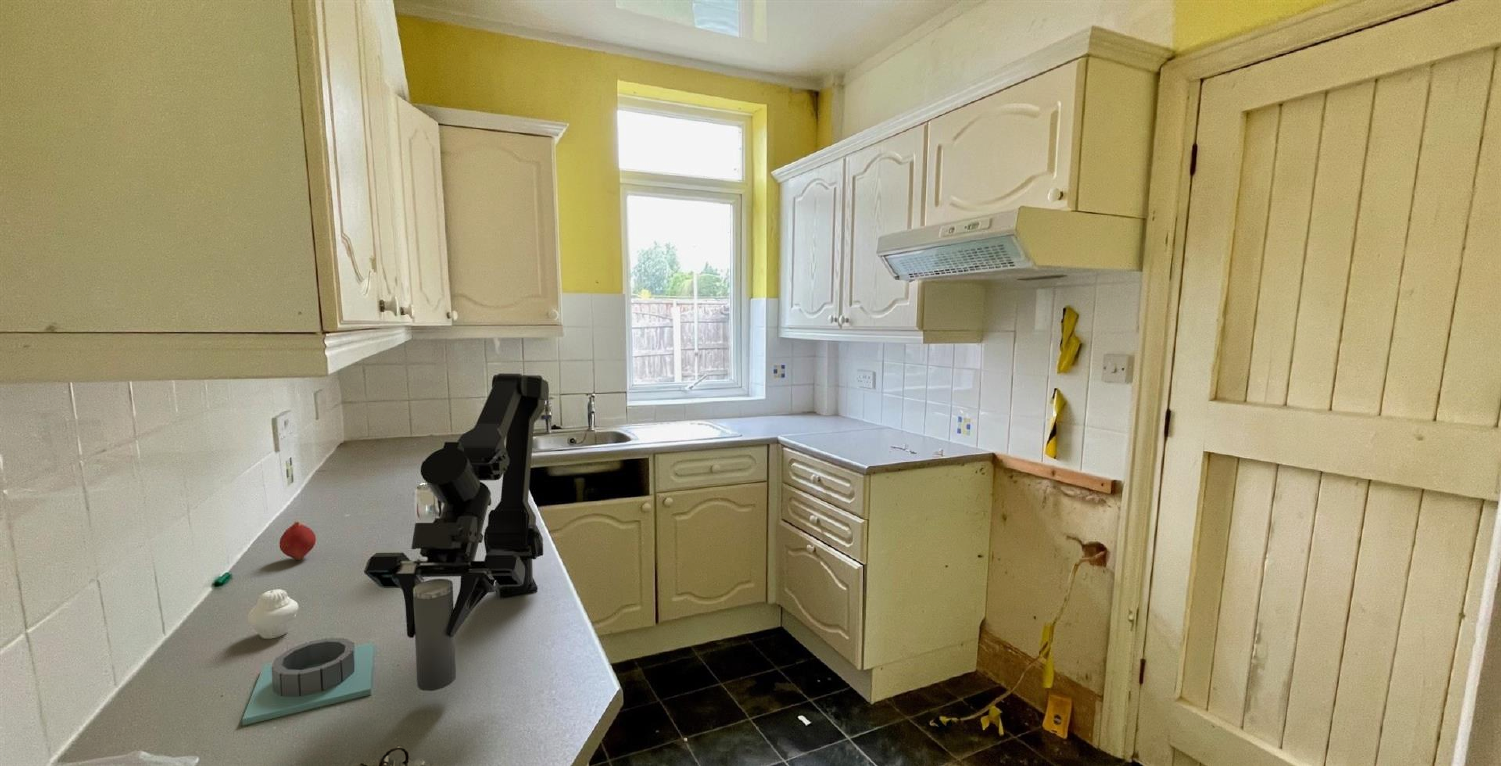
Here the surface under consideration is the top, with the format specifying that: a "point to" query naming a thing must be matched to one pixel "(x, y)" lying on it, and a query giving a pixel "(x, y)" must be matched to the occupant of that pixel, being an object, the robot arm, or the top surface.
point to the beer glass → (426, 507)
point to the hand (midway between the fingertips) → (429, 636)
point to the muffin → (273, 614)
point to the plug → (434, 634)
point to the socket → (311, 678)
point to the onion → (297, 541)
